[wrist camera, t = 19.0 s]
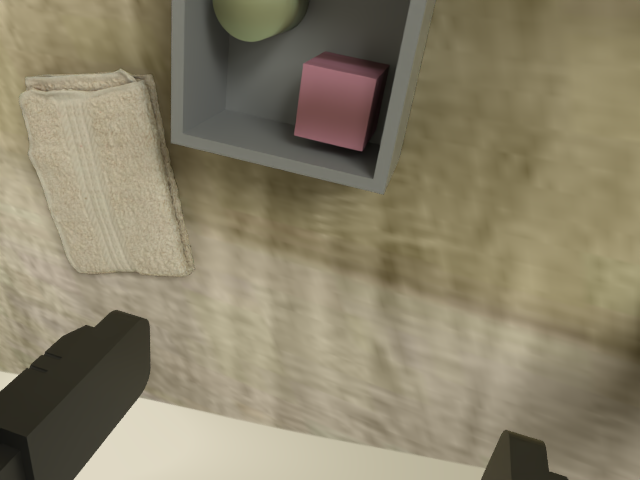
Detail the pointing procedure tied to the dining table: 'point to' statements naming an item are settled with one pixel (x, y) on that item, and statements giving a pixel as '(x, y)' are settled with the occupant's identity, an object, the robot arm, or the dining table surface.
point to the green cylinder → (259, 17)
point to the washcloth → (107, 172)
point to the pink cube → (340, 100)
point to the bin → (293, 85)
